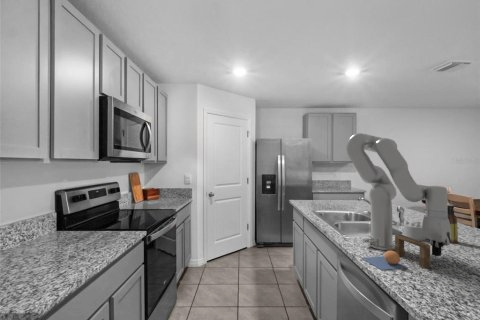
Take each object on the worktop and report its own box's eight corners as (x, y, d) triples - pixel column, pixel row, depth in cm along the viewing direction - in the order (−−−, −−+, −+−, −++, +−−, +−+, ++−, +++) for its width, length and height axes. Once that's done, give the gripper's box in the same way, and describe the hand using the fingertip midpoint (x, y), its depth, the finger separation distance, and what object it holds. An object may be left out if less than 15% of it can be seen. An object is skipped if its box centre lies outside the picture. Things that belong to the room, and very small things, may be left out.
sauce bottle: (452, 239, 133) (451, 203, 133) (461, 243, 127) (461, 205, 127) (439, 239, 134) (439, 203, 134) (447, 243, 127) (447, 205, 128)
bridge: (424, 268, 98) (424, 245, 98) (395, 254, 112) (395, 234, 112) (430, 267, 98) (430, 244, 98) (400, 254, 112) (400, 234, 113)
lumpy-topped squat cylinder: (425, 236, 140) (425, 221, 140) (426, 242, 130) (426, 226, 130) (404, 233, 146) (404, 218, 146) (402, 238, 136) (402, 223, 136)
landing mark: (381, 270, 96) (381, 269, 96) (361, 258, 107) (361, 257, 107) (407, 268, 98) (407, 267, 98) (384, 256, 110) (384, 256, 110)
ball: (401, 251, 100) (404, 263, 100) (389, 246, 105) (392, 258, 105) (391, 256, 98) (394, 268, 98) (380, 251, 103) (382, 263, 103)
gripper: (414, 210, 114) (414, 249, 114) (446, 218, 99) (446, 262, 99) (427, 210, 115) (427, 248, 115) (461, 217, 101) (461, 261, 101)
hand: (436, 255), depth 107 cm, fingers closed
